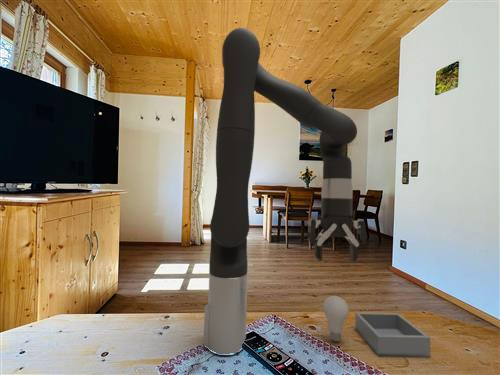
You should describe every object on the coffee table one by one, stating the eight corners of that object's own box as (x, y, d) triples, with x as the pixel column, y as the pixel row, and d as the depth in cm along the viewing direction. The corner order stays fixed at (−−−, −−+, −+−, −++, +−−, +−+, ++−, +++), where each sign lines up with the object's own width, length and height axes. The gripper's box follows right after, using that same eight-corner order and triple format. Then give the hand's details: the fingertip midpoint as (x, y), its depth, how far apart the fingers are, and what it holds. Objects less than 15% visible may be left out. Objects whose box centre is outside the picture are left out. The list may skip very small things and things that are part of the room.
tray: (378, 356, 57) (378, 336, 57) (355, 328, 69) (355, 312, 69) (430, 357, 57) (430, 337, 58) (398, 329, 69) (398, 313, 70)
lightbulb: (344, 335, 66) (344, 292, 66) (351, 349, 60) (352, 302, 60) (320, 333, 66) (321, 291, 67) (325, 347, 60) (325, 300, 61)
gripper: (313, 196, 61) (312, 264, 60) (371, 197, 61) (371, 265, 60) (305, 196, 68) (304, 256, 67) (357, 197, 68) (357, 257, 68)
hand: (336, 260), depth 64 cm, fingers open, 8 cm apart
